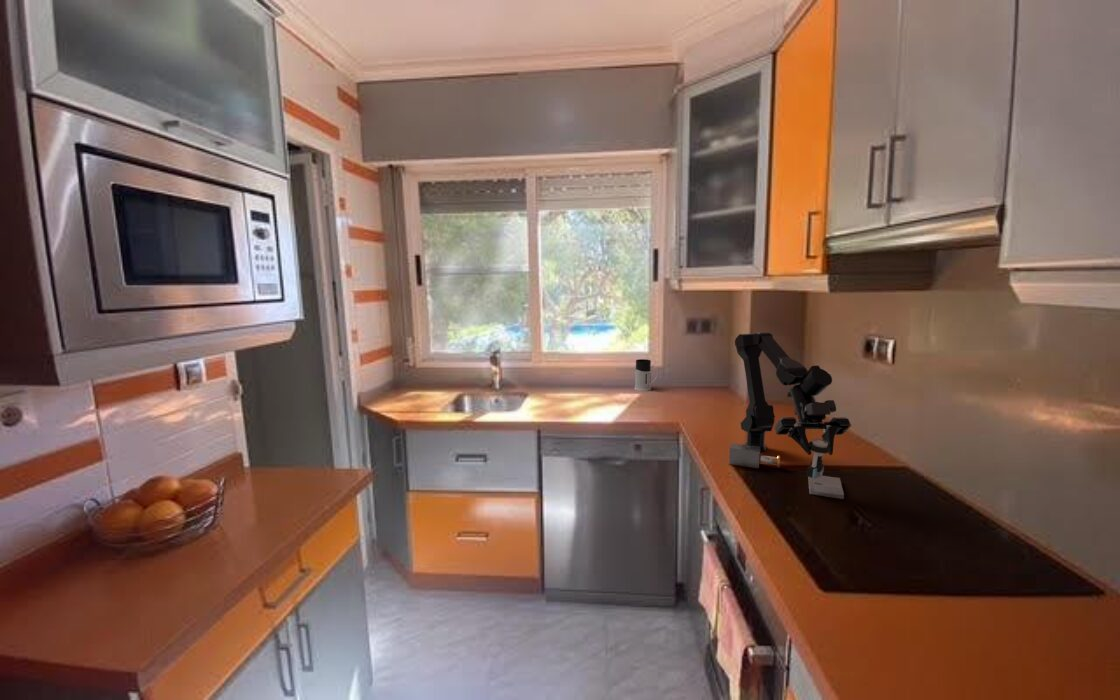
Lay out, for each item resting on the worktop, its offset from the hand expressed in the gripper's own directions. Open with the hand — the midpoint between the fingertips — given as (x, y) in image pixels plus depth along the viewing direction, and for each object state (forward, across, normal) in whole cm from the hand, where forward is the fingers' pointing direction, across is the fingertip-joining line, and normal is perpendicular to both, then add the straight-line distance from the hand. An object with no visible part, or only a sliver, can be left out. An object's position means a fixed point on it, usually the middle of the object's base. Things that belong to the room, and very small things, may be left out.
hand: (820, 454), depth 136 cm
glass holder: (-77, -29, +95) cm, 126 cm away
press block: (-6, -13, +21) cm, 26 cm away
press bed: (+6, +3, +8) cm, 11 cm away
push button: (+4, 0, +6) cm, 7 cm away
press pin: (-5, -8, +19) cm, 22 cm away
